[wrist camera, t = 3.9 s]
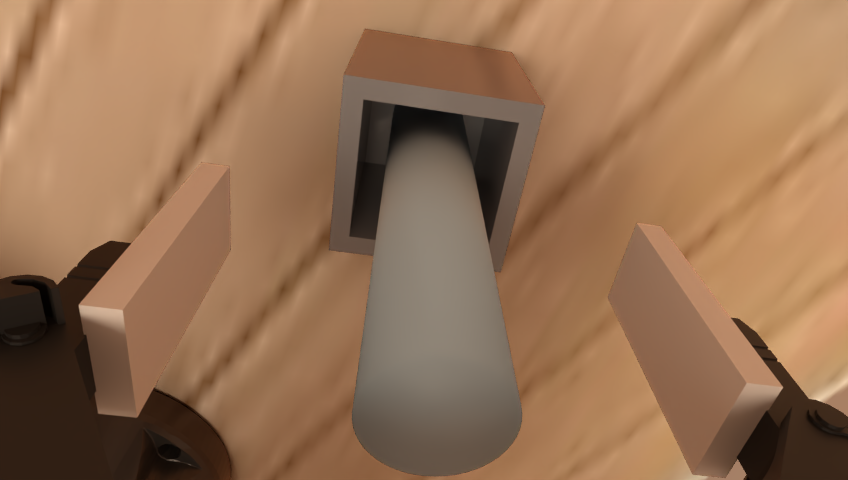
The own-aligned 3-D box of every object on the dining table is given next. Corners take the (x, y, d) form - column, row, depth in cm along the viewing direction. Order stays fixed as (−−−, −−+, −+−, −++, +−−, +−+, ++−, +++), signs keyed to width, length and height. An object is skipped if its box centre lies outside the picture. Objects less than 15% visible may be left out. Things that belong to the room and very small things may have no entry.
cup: (351, 166, 28) (329, 250, 22) (364, 28, 25) (343, 74, 18) (481, 185, 29) (500, 272, 22) (511, 52, 26) (544, 105, 19)
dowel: (388, 145, 27) (344, 468, 11) (397, 77, 25) (360, 346, 10) (455, 155, 27) (501, 483, 12) (468, 88, 26) (541, 366, 10)
